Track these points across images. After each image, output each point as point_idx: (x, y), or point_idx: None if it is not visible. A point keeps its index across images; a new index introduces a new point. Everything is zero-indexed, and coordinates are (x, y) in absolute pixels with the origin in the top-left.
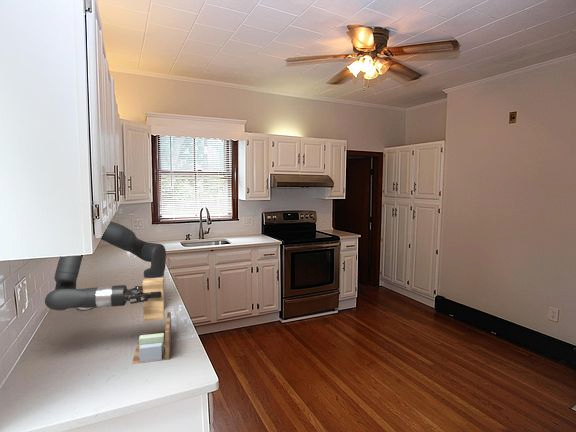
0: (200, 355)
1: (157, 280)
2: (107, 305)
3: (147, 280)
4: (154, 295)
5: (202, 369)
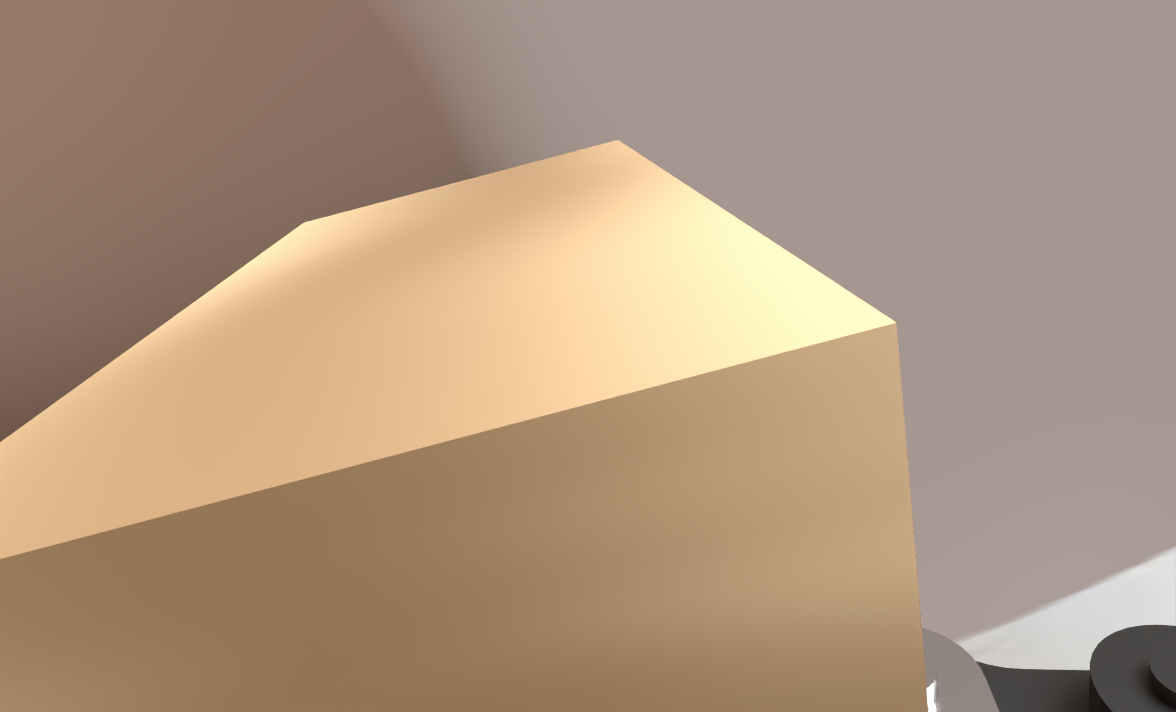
0: None
1: (585, 171)
2: None
3: (483, 303)
4: None
5: (1166, 603)
